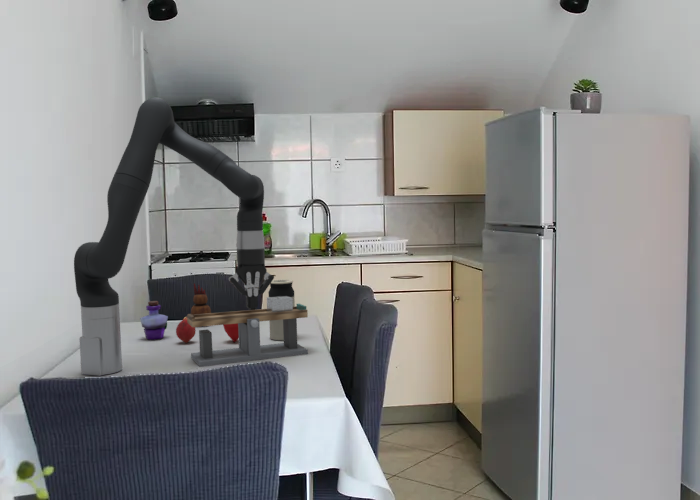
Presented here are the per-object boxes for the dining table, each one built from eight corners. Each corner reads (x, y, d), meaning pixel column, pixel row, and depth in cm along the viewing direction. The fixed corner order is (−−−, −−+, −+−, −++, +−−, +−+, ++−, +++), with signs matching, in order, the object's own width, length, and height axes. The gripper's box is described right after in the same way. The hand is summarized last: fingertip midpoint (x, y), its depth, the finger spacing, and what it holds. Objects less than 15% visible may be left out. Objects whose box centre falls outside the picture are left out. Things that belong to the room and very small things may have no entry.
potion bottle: (174, 337, 216) (173, 300, 215) (153, 342, 209) (151, 304, 208) (156, 335, 221) (154, 298, 220) (134, 339, 214) (133, 302, 213)
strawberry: (232, 345, 202) (231, 312, 201) (219, 341, 208) (218, 309, 207) (249, 342, 206) (248, 309, 205) (236, 338, 211) (235, 307, 211)
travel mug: (272, 341, 206) (270, 283, 204) (268, 336, 213) (266, 280, 212) (297, 339, 208) (296, 281, 207) (293, 334, 215) (291, 278, 214)
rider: (272, 313, 187) (271, 299, 187) (267, 311, 192) (266, 297, 192) (292, 312, 190) (292, 298, 189) (287, 309, 194) (286, 296, 194)
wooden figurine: (188, 327, 234) (186, 284, 233) (197, 324, 239) (195, 282, 238) (206, 327, 232) (204, 284, 231) (214, 324, 238) (212, 282, 236)
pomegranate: (190, 345, 204) (189, 318, 203) (173, 344, 205) (172, 318, 204) (199, 341, 209) (198, 315, 209) (181, 340, 211) (180, 315, 210)
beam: (192, 327, 177) (192, 315, 177) (187, 322, 184) (186, 311, 184) (307, 317, 190) (307, 306, 189) (298, 313, 197) (298, 303, 197)
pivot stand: (200, 367, 175) (198, 325, 175) (190, 356, 188) (188, 317, 187) (309, 354, 187) (307, 315, 186) (292, 345, 200) (291, 308, 199)
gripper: (229, 248, 180) (231, 313, 181) (277, 246, 185) (279, 309, 186) (223, 247, 187) (225, 309, 188) (269, 245, 192) (271, 306, 193)
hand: (252, 309), depth 187 cm, fingers closed
